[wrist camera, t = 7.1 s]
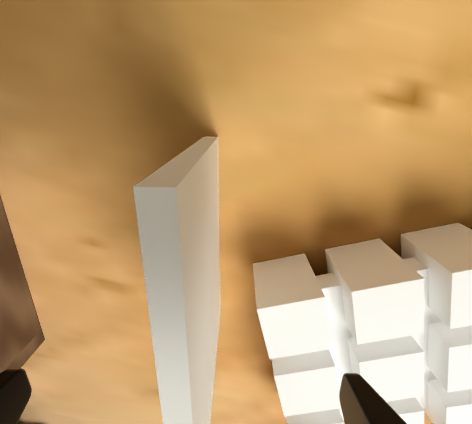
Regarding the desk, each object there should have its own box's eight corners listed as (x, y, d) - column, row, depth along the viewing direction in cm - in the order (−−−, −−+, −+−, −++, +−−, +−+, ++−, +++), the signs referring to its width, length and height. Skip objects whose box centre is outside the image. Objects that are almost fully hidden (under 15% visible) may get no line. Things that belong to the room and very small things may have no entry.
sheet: (220, 309, 19) (200, 532, 9) (209, 309, 19) (176, 532, 9) (218, 136, 15) (176, 187, 5) (204, 136, 15) (133, 187, 5)
